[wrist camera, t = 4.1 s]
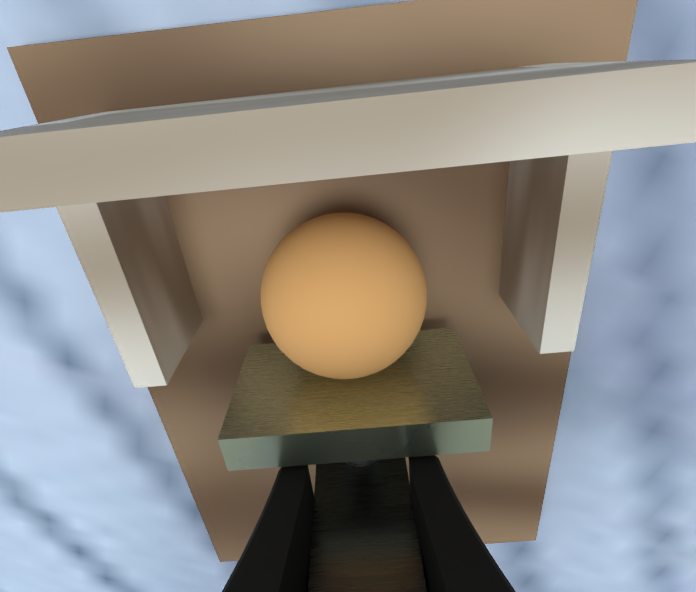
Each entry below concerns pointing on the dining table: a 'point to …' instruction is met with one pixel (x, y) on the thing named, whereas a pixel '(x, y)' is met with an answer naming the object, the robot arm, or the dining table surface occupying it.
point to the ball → (343, 295)
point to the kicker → (358, 450)
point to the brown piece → (345, 199)
